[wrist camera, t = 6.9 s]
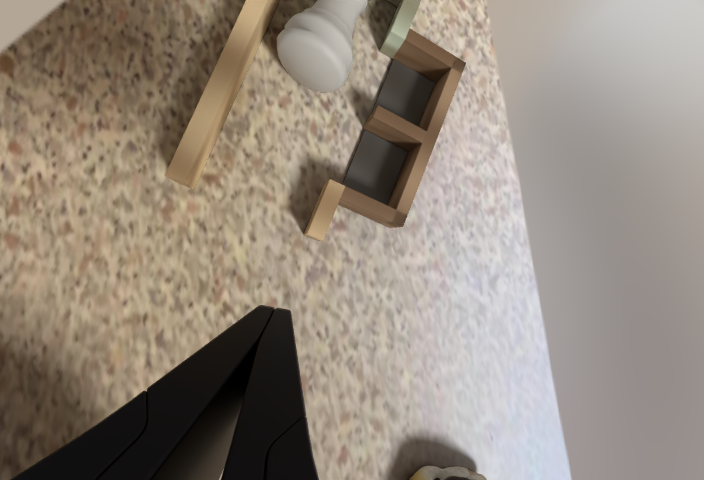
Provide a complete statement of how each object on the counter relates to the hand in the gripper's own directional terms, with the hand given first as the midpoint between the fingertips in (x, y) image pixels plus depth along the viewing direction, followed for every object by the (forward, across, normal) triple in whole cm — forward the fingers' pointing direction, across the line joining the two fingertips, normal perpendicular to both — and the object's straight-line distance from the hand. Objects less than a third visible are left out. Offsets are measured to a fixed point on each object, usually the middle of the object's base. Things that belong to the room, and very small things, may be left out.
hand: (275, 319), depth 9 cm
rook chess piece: (+14, +2, -6) cm, 15 cm away
